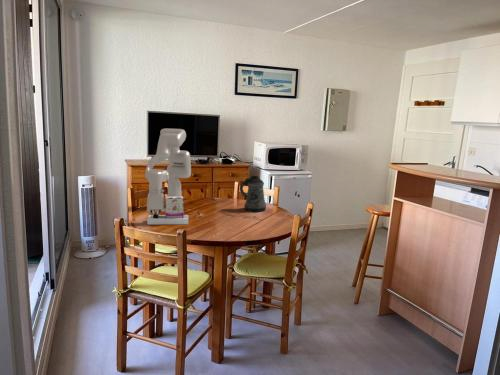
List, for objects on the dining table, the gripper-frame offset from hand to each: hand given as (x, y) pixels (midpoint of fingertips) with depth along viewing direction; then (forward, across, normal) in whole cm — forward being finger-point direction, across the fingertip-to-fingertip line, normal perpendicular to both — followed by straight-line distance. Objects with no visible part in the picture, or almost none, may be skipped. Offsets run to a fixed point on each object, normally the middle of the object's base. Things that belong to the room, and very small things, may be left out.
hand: (155, 220), depth 225 cm
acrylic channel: (+1, -8, 0) cm, 8 cm away
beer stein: (+2, -67, -34) cm, 76 cm away
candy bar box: (+2, -12, 0) cm, 12 cm away
